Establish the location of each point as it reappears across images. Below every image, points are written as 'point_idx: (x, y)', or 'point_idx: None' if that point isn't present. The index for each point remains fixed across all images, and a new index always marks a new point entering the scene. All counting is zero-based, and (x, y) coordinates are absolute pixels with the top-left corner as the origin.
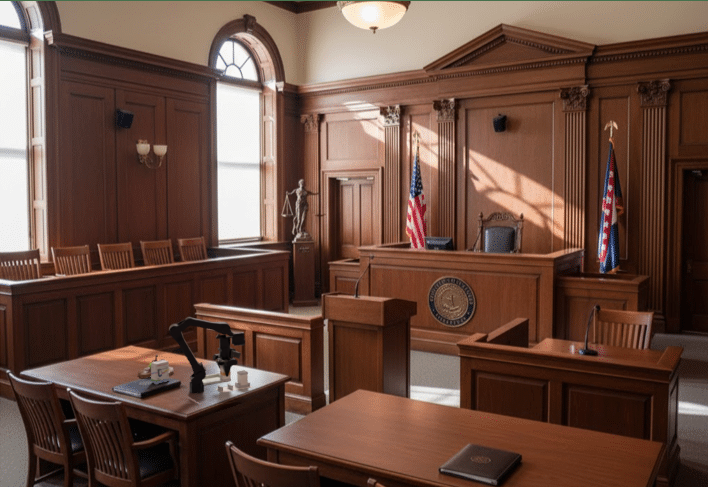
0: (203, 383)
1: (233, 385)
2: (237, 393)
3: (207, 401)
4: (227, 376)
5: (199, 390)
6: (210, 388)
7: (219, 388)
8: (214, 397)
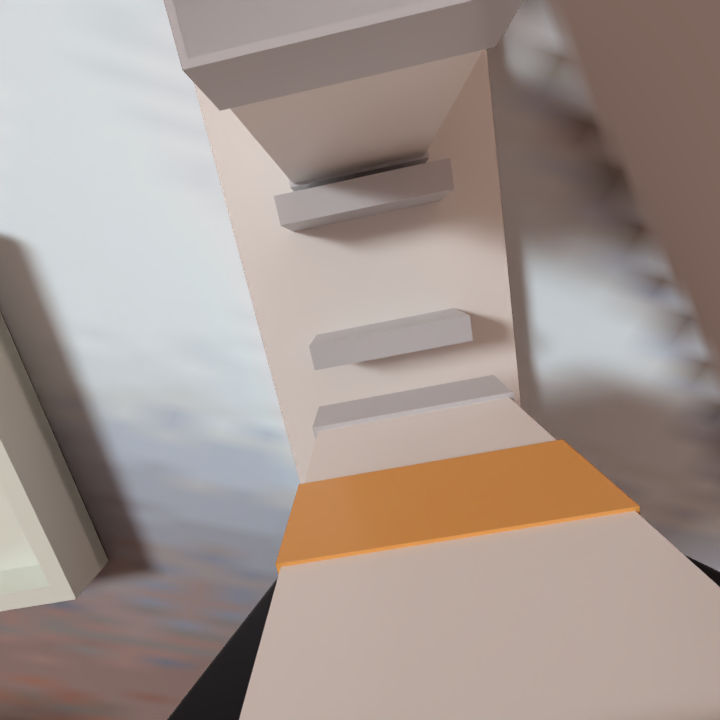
0: (53, 593)
1: (239, 244)
2: (575, 274)
3: None
4: None
5: None
6: (198, 519)
7: None
8: None
